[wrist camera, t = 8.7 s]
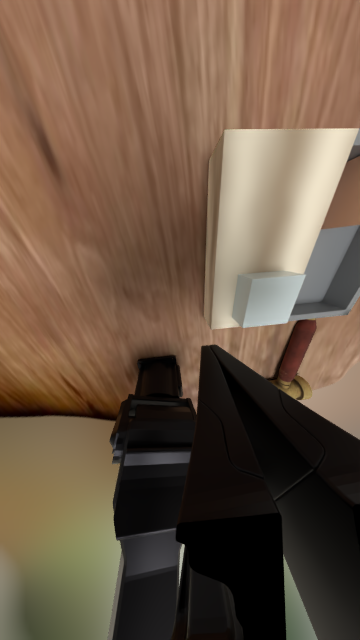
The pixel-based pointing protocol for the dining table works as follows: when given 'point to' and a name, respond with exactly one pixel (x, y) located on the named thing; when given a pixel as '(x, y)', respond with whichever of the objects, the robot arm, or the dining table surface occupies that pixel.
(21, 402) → the dining table surface
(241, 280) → the grey sharp-edged block
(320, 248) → the tray
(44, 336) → the dining table surface
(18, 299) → the dining table surface
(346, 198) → the tile terracotta
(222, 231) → the board
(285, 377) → the gavel
